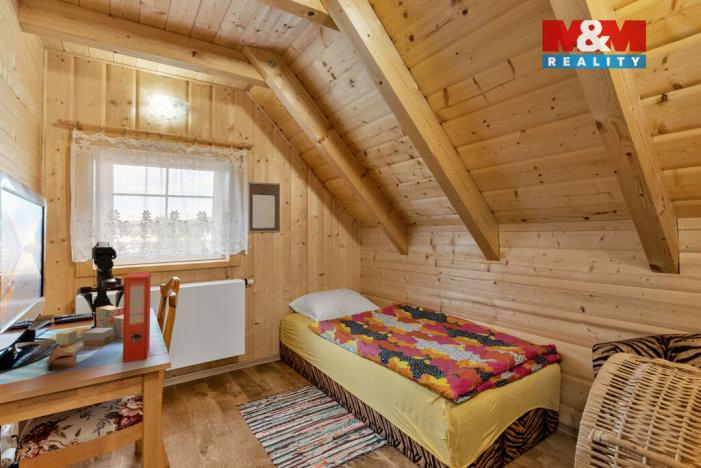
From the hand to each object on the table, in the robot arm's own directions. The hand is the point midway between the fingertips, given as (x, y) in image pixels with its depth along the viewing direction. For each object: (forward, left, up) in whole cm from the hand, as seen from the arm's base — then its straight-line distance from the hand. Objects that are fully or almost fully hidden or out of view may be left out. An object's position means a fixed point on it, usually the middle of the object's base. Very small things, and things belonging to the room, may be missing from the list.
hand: (104, 309), depth 153 cm
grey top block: (0, -3, -12) cm, 13 cm away
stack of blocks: (-14, -4, -15) cm, 21 cm away
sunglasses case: (+23, 0, -16) cm, 28 cm away
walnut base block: (0, -3, -15) cm, 16 cm away
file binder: (+14, +22, -15) cm, 30 cm away
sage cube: (0, -17, -15) cm, 22 cm away
